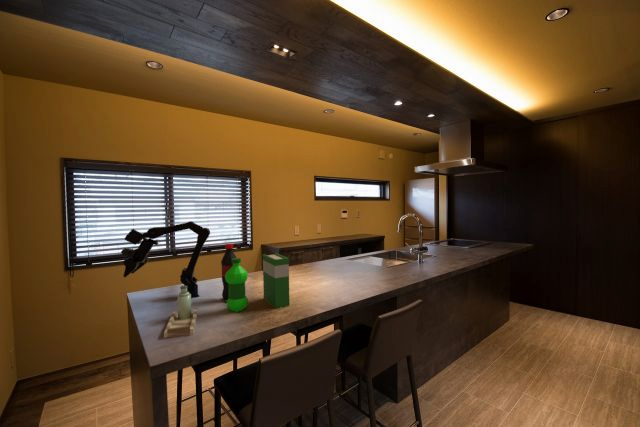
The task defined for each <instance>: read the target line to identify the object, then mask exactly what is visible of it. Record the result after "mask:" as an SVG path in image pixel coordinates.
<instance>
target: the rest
mask: <svg viewBox="0 0 640 427" xmlns="http://www.w3.org/2000/svg"><path fill="white" fill-rule="evenodd" d="M198 314H199V308H194V311H193V312H192V316H191V317H190V318H188V319H182V320H181V319H178V314H177V310H173V311H172V314H171V316H170V318H169V319H168V321H167V322H168V323H167V325H166V327H165V329H164V332H163V339H169V338H176V337H183V336H187V335H190V336H193V335H192V334H195V328H196V324H197V323H196V322H197V318H198Z"/></svg>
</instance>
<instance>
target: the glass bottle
mask: <svg viewBox="0 0 640 427" xmlns="http://www.w3.org/2000/svg"><path fill="white" fill-rule="evenodd" d="M179 288H180V292H179V293H178V294H177V299H176V300H177V315H178V319H181V320H182V319H188V318H190V317H191V316H192V313H193V312H192V298H191V294H190V293H189V292H187V288H188V286H184V285H180V286H179Z"/></svg>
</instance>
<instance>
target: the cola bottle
mask: <svg viewBox="0 0 640 427" xmlns="http://www.w3.org/2000/svg"><path fill="white" fill-rule="evenodd" d="M224 246H225V247H224V249H225V253H224V255H223V256H222V259H221V260H220V263H221V264H220V265H221V282H222V285H223V289H222V293H221V296H222V299H223V300H224V301H225V302H227V300H228V298H229V296H228V283H227V282H226V280H225V275H226V272H227V271H228V270H229V269H230V268H231V267H232V266H233V263H232V259H233V258H237V256H236V254H235V253H234V243H226V244H225V245H224Z"/></svg>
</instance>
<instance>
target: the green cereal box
mask: <svg viewBox="0 0 640 427" xmlns="http://www.w3.org/2000/svg"><path fill="white" fill-rule="evenodd" d="M262 272H263V273H262V276H263V278H262V279H263V280H262V281H263V299H264V300H265V301H266V302H267V303H268V302H269V303H268V304H269V305H271V306H272V307H273V308H274V307H275V308H277V309H281V308H280V307H282V308H286V307H290V306H289V305H290V258H289V257H287V256H285V255H281V254H279V253H277V252H274V253H273V254H269V255H268V254H265V253H263V254H262ZM285 306H286V307H285ZM275 308H274V309H275Z"/></svg>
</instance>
